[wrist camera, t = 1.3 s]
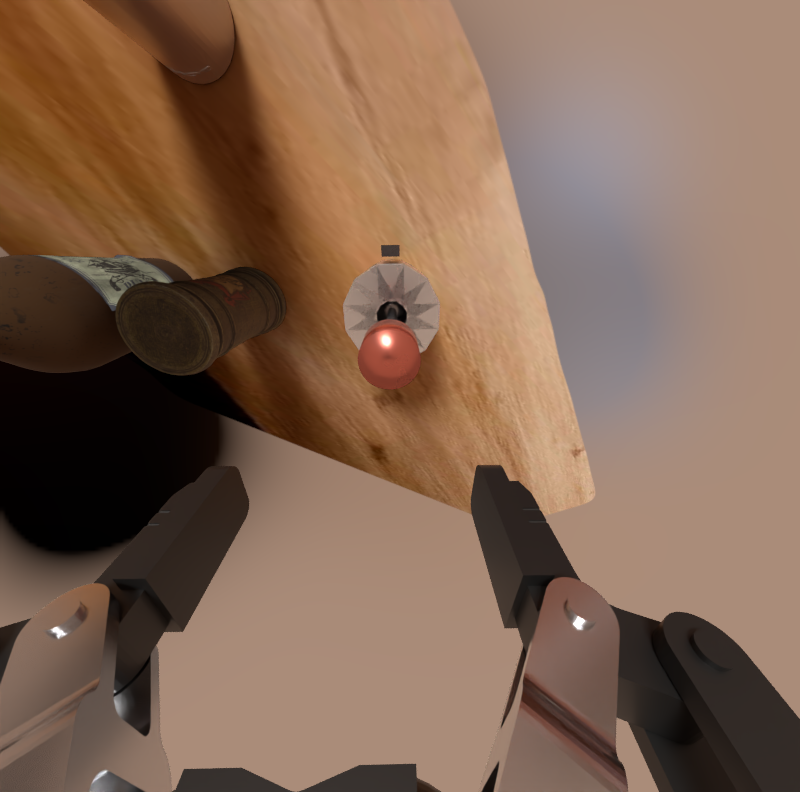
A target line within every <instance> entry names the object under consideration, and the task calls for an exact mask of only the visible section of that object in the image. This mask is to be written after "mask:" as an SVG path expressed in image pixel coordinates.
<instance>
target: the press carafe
mask: <svg viewBox="0 0 800 792" xmlns="http://www.w3.org/2000/svg"><path fill="white" fill-rule="evenodd" d="M381 251H382V257H384V256H399V245H381ZM387 301H396V302H398V303H399V304H401V305H403V307H404V308H405V310H406V312H407V320H406V322H405V324H406V325H408V326H409V327H410V328H411V329H412V331H413V332H414V334H415V336H416V339H417V343H418V347H419V351H420V353H421V352H423V351H425V350H426V349H427V347H428V345H429V344H430V342H431V341H432V339H433V337H434V336H435V334H436V333H437V331H438V329H439V313H440V302H439V300H438V298H437V296H436V294H435V292H434V290H433V288H432V286H431V284H430V282H429V280H428V278H427V277H426V276H424V275H423V274H422V273H421V272H420V271H419V270H417V269H416V268H414V267H413V266H412V265H410V264H408V263H406V262H405V261H403V260H382V261H380V262H379V263H377V264H375V265H373V266H372V267H371V268H369V269H368V270H367V271H365V272H364V273H362V274H361V275H360V276H358V277H357V278H355V279H354V281H353V284H352V286H351V288H350V290H349V292H348V295H347V297H346V299H345V301H344V303H343V310H344V320H345V330H346V332H347V333H348V335H349V336H350V338H351V339H352V341H353V342H354V344H355V345H356V346H357V348H358V349H359V350H360V347H361V344H362V342H363V339H364V336H365V334H366V332H367V331H368V329H369V328H370V327H371V326H372V325H374V324H375V323H377V322H378V320H377V311H378V309H379V307H380V306H381V305H382V304H384V303H386V302H387Z"/></svg>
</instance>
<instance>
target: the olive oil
mask: <svg viewBox="0 0 800 792" xmlns="http://www.w3.org/2000/svg"><path fill="white" fill-rule="evenodd" d="M188 280H192V278H191V277H190V276H189V275H188V274H187V273H186V272H185V271H184V270H182V269H181V268H180V267H178V266H177V265H175V264H173V263H171V262H169V261H166V260H162V259H155V258H134V257H131V256H126V255H116V256H115V257H114V258H102V257H69V256H43V255H15V256H6V257H1V258H0V361H4V362H7V363H10V364H13V365H17V366H20V367H24V368H27V369H31V370H36V371H42V372H51V373H64V372H76V371H83V370H89V369H93V368H96V367H99V366H101V365H104V364H106V363H108V362H110V361H112V360H115V359H117V358H119V357H120V356H123V355H125V354H127V353H129V352H132V351H131V349H130V348H129V347H128V346H127V345H126V343H125V342H124V340H123V338H122V337H121V335H120V332H119V330H118V327H117V323H116V317H115V312H116V306H117V303H118V300H119V298H120V297H121V295H122V294H123V293H124V292H125V291H126V290H127V289H128V288H130V287H131V286H133V285H136V284H138V283H142V282H147V281H157V282H164V283H170V282H174V281H188Z"/></svg>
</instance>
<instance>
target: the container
mask: <svg viewBox="0 0 800 792" xmlns="http://www.w3.org/2000/svg"><path fill="white" fill-rule="evenodd" d="M285 313H286V303H285V298H284V295H283V293H282V291H281V289H280V288H279V286H278V285H277V284H276V282H275V281H274V280H273V279H272V278H271V277H269V276H268V275H267V274H265V273H263V272H262V271H259V270H257V269H254V268H250V267H239V268H235V269H232V270H228V271H226V272H225V273H222V274H218V275H216V276H213V277H207V278H201V279H195V280H188V281H174V282H170V283H164V282H157V281H147V282H142V283H138V284H136V285H133V286H131V287H130V288H128V289H127V290H126V291H125V292H124V293H123V294H122V295H121V297H120V298H119V300H118V303H117V306H116V312H115V317H116V323H117V327H118V330H119V332H120V335H121V337H122V338H123V340H124V342H125V343H126V345H127V346H128V347H129V348H130V349H131V351H132V352H133V353H134V354H135V355H136V356H137V357H139V358H140V359H141V360H142V361H144V362H145V363H147V364H148V365H150V366H152V367H153V368H155V369H157V370H159V371H162V372H165V373H168V374H173V375H191V374H196V373H199V372H201V371H203V370H205V369H207V368H208V367H210V366H211V365H212V363H213V362H214V361H215V359H216V358H218V357H221V356H223V355H225V354H226V353H228V352H229V351H230V350H231V349H233V348H234V347H236V346H238V345H239V344H241V343H243V342H244V341H246V340H248V339H249V338H252V337H255V336H258V335H260V334H264V333H267V332H269V331H271V330H273V329H275V328H277V327H278V326H279V325H280V324H281V323H282V321H283V319H284V317H285Z"/></svg>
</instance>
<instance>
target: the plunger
mask: <svg viewBox="0 0 800 792" xmlns="http://www.w3.org/2000/svg"><path fill="white" fill-rule="evenodd" d="M377 320H378V322H377V323H375V324H374V325H372V326H371V327H370V328H369V329H368V331H367V332H366V334H365V336H364V339H363V342H362V344H361V347H360V350H359V354H358V365H359V369H360V371H361V373H362V375H363V376H364V378H365V379H366V380H367V381H368V382H369V383H371V384H372V385H374V386H376V387H378V388H382V389H398V388H401V387H403V386H405V385H407V384H409V383H410V382H411V381H412V380H413V379H414V378H415V376H416V375H417V373H418V371H419V368H420V364H421V356H420V351H419V347H418V343H417V339H416V336H415V334H414V332H413V331H412V329H411V328H410V327H409V326H408V325H406V324H405V322H406V320H407V312H406V310H405V308H404V307H403V305H401V304H399V303H398V302H396V301H387V302H386V303H384V304H382V305H381V306H380V307H379V309H378V311H377Z"/></svg>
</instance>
